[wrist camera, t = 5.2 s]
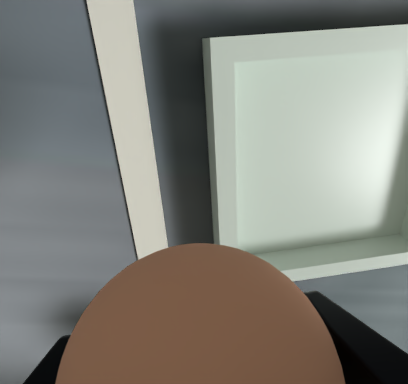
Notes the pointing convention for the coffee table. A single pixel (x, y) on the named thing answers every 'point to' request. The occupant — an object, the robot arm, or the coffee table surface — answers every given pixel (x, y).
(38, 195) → the coffee table surface
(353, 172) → the tray
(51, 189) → the coffee table surface
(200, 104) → the coffee table surface
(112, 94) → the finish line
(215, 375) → the ball
